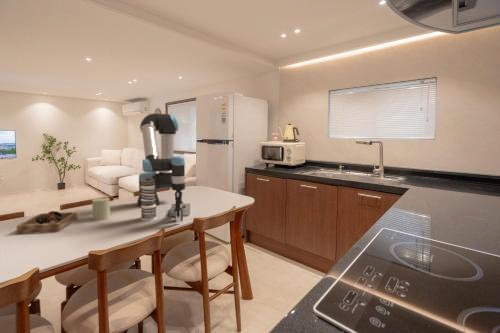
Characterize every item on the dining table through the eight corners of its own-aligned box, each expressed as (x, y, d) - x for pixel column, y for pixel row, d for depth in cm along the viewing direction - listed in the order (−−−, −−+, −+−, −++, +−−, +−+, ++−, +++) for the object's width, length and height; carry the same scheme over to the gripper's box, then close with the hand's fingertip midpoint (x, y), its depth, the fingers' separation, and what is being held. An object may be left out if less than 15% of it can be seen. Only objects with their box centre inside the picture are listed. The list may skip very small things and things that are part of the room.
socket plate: (169, 216, 163) (169, 210, 163) (172, 209, 179) (172, 203, 178) (189, 215, 165) (189, 209, 165) (190, 208, 181) (190, 203, 181)
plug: (175, 221, 154) (174, 207, 153) (175, 219, 158) (175, 205, 157) (182, 221, 155) (182, 207, 154) (182, 218, 159) (182, 205, 158)
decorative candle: (140, 216, 161) (139, 176, 158) (156, 215, 165) (155, 176, 162) (140, 221, 153) (138, 179, 150) (157, 220, 156) (155, 178, 153)
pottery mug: (54, 221, 153) (60, 209, 152) (61, 231, 149) (67, 219, 148) (29, 222, 142) (36, 209, 142) (36, 233, 138) (43, 220, 137)
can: (113, 216, 162) (112, 197, 160) (101, 221, 153) (99, 200, 152) (102, 214, 165) (101, 196, 163) (89, 219, 156) (87, 199, 155)
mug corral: (17, 233, 133) (16, 226, 132) (41, 220, 153) (40, 213, 153) (59, 231, 136) (59, 224, 136) (77, 218, 157) (76, 212, 156)
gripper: (183, 186, 142) (184, 224, 145) (185, 179, 167) (186, 211, 169) (169, 187, 141) (170, 225, 143) (173, 179, 165) (174, 212, 168)
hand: (179, 218), depth 156 cm, fingers open, 13 cm apart
